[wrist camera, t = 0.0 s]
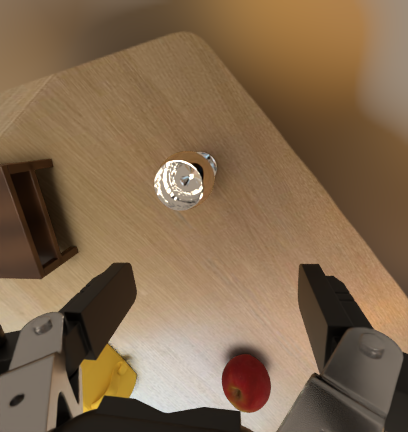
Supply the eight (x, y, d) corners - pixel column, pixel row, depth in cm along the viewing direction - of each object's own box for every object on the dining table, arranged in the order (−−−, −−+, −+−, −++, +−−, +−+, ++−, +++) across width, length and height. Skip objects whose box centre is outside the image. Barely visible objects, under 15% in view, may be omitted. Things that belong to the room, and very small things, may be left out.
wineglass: (173, 174, 33) (138, 194, 22) (194, 138, 31) (166, 140, 20) (207, 196, 34) (189, 227, 23) (230, 161, 32) (222, 177, 20)
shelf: (-23, 165, 38) (-88, 173, 31) (51, 158, 36) (0, 165, 28) (11, 252, 43) (-37, 277, 36) (78, 252, 41) (41, 279, 33)
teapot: (89, 400, 55) (50, 468, 44) (52, 364, 52) (1, 426, 41) (151, 374, 48) (124, 446, 37) (112, 332, 46) (70, 395, 35)
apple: (258, 339, 41) (261, 385, 33) (273, 373, 43) (280, 423, 35) (218, 347, 43) (212, 392, 35) (234, 379, 45) (232, 428, 37)
